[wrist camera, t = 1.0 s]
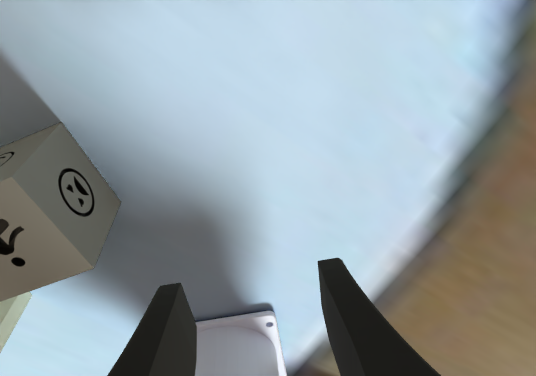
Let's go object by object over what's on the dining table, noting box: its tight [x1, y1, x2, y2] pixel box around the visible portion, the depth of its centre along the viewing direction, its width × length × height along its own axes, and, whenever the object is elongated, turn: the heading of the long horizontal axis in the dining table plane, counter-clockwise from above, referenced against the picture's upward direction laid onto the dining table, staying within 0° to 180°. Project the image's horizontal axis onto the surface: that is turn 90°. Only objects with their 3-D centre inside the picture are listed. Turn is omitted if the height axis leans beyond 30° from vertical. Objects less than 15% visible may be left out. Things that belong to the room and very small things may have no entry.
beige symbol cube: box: [0, 122, 121, 302], centre depth 18 cm, size 5×5×5 cm
